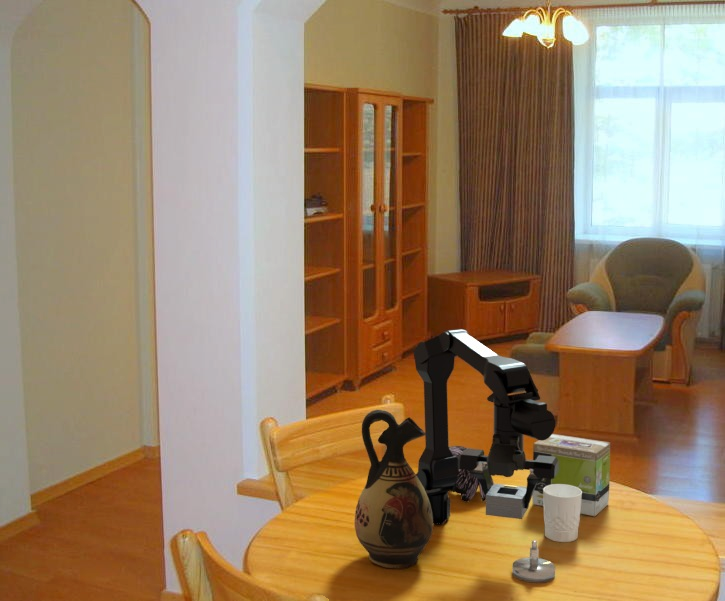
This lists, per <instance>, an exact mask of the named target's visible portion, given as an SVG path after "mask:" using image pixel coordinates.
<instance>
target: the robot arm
mask: <svg viewBox="0 0 725 601" xmlns="http://www.w3.org/2000/svg"><path fill="white" fill-rule="evenodd" d="M457 357H458V358H459V359H461V360H462V361H463V362H464V363H466V364H468V365H469V366H470V367H471V368H473V369H474V370H476V372H478V373H479V374H481V376H482V377H483V378H482V379H483V382H484V385H486V387H488V389H489V390H490V391H491V392H492V393H491V394H490V395H488V396H487V398H486V400H487V402H491V403H493V435H492V439H491V442H492V443H491V446H490V449H489V452H488V455H485V452H484V449H477V448H469V447H466V448H467V449H465V450H464V451H463V452H462V454H461V455H460V456H459V457H457V456H454V455H453V453H452V452H451V450H450V449H449V447H450V446H449V442H450V441H449V413H448V412H449V410H448V409H449V408H448V403H449V402H448V401H449V400H448V380H449V379H450V377H451V375H452V373H453V371H454V368H455V360H456V358H457ZM413 358H414V365H415V370H416V372H417V374H418V375H419V377H420V378H421V379H422V382H423V399H424V400H423V402H424V405H423V406H424V432H425V433H426V434H425V435H424V436H425V438H424V439H425V440H424V442H425V448H424V450H423V451H422V454H421V455H420V457H419V459H418V466H417V467H418V469H417V472H416V473H415V474H416V476H417V477H418V479H419V481H420V482H421V484H422V486H423V487H424V489H425V491H426V494H427V496H428V499H429V502H430V505H431V509H432V515H433V525H444V524H445V523H446V521H447V520H448V519H449V517H450V516H451V497H449V492H453V491H454V490H455V486H456V482H457V480H458V475H460V473H459V469H460V470H470V471H469V473H470V474H472V475H475V476H476V477H477V479H478V480H479V482H480V484H481V487H482V489H483V492H484V495H485V498H486V494H487V493H488V491H489V490H490V488H491V476H492V477H494V476H500V477H505V478H511V477H513V476H514V475H515V474H514V473H515V471H518V470H519V471H524V470H528V471H529V474H528V476H527V477H526V487H527V489H526V497H525V508H526V509H527V508H528V506H529V507H530V503H531V501H532V495H533V492H534V489H535V487H536V485H537V483H538V481H539V482H541V481H543V480H544V478H547V479H553V478H555V476H556V475H557V473H558V471H559V460H558V459H557V458H556V457H553V456H543V455H538V457H537V458H536V460H533V459H526V458H527V457H526V453H525V451H524V436H527V437H529V438H532V439H535V440H536V441H538V440H546V439H548V438H549V437H550V436H551V435H552V434H554V431H555V429H556V423H557V422H556V418H555V417H554V414H553V413H552V412H551V411H550V410H549V409H548V404H547V402H542V401H540V400H541V396H540V394H539V389H538V387H537V386H536V385H535V383H534V380H533V378H532V377H533V376H532V375H531V373H530V371H529V368H528V366H527V365H526V364H525V363H524V362H522V361H520V360H517V359H514V358H511V357H506V356H501V355H498V354H497V353H496V352H494V351H492V350H491V349H490V348H488V347H487V346H485V345H484V344H483V343H481V342H480V341H478V340H477V339H475V338H474V337H473V336H471V335H469V333H468V331H467V330H466V329H462V328H457V329H449V330H448V329H447V330H445V331H443V332H441V333H440V334H439V335H436V336H434V337H432V338H430V339H427V340H426V341H420V342H418V344H417V345H416V346H415V347H414V351H413ZM524 391H525V392H524ZM528 509H529V508H528ZM528 509H527V510H528Z"/></svg>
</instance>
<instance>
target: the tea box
mask: <svg viewBox="0 0 725 601" xmlns="http://www.w3.org/2000/svg"><path fill="white" fill-rule="evenodd" d="M532 447H533V448H532V460H536V458H537V457H538V455H543V456H553V457H556V458H557V459H558V460H559V471H558V473H557V475H556V476H555V478H553V479H547V478H544V480H543V481H541V482H539V481H538V483H537V485H536V487H535V489H534V492H533V495H532V498H531V501H532V505H535V506H540V507H544V502H543V489H544V487H546V486H548V485H552V484H566V485H572V486H575V487H578V488H579V489H581V491H582V499H581V512H580V515H587V516H591V517H596V516H597V515H598V514H599V513H600V512H602V511H603V509H604V508H606V507H607V506H608V505H609V500H610V499H609V498H610V477H611V473H610V472H611V471H610V469H611V468H610V467H611V442H609V441H603V440H596V439H591V438H589V439H588V438H582V437H578V436H576V437H575V436H569V435H562V434H557V433H552V435H551V436H550V437H549V438H548V439H546V440H536V441H535V442H534V443H533V446H532Z"/></svg>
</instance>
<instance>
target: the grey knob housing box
mask: <svg viewBox="0 0 725 601" xmlns="http://www.w3.org/2000/svg"><path fill="white" fill-rule="evenodd" d="M526 489H527V486H518V485H512V484H511V485H510V484H503V483H494V484H493V486H492V487H491V488H490V490H489V491H488V493H487V494H486V500H485V516H492V517H501V518H508V519H516V520H523V517H525V514H526V513H527V511H528V510H529V507H530V505H529V506H528V508H527V509H526V508H525V497H526Z"/></svg>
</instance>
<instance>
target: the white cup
mask: <svg viewBox="0 0 725 601" xmlns="http://www.w3.org/2000/svg"><path fill="white" fill-rule="evenodd" d="M581 499H582V491H581V489H579V488H578V487H575V486H572V485H566V484H552V485H548V486H546V487H544V489H543V502H544V506H543V523H544V536H545V537H546V538H547V539H548V540H551V541H554V542H560V543H569V542H574V541H576V540H578V534H579V526H580V519H581V513H580V512H581Z"/></svg>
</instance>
